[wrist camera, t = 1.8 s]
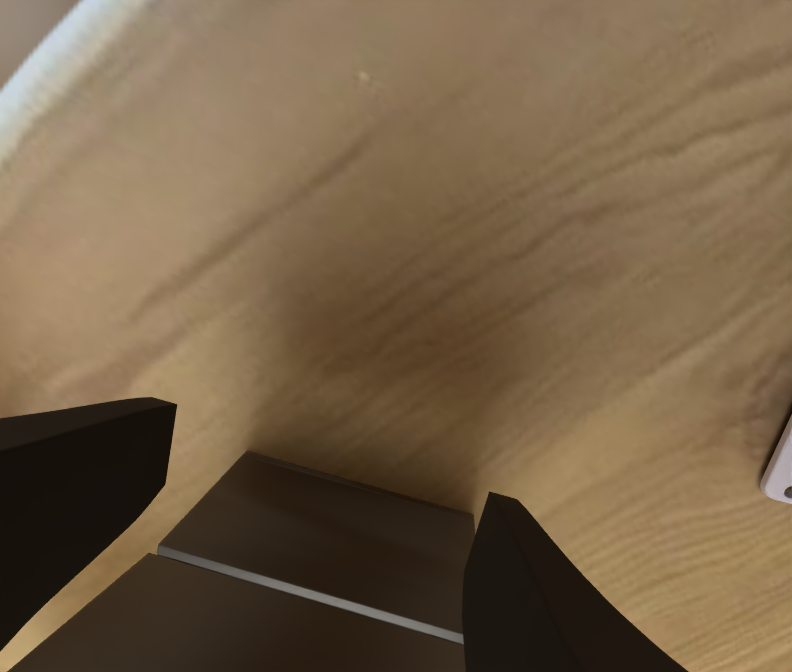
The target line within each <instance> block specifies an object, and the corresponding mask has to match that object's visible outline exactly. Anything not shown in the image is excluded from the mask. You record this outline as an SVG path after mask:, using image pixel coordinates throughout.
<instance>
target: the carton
mask: <svg viewBox="0 0 792 672" xmlns="http://www.w3.org/2000/svg"><path fill="white" fill-rule="evenodd" d="M474 538H475V523H474V515H472V514H468V513H464V512H461V511H457V510H454V509H450V508H447V507H443V506H439V505H436V504H432V503H429V502H425V501H422V500H418V499H414V498H411V497H407V496H404V495H400V494H397V493H393V492H389V491H386V490H382V489H379V488H375V487H372V486H368V485H364V484H361V483H357V482H354V481H350V480H347V479H343V478H339V477H336V476H332V475H329V474H325V473H322V472H318V471H314V470H311V469H307V468H304V467H300V466H297V465H293V464H289V463H286V462H282V461H279V460H275V459H272V458H268V457H264V456H261V455H257V454H254V453H250V452H245V453H244V454H243V455H242V456H241V457H240V458H239V459H238V460H237V461H236V463H235V464H234V465H233V466H232V467H231V468H230V469H229V470H228V471H227V472H226V473H225V474H224V475H223V476H222V477H221V478H220V480H219V481H218V482H217V483H216V484H215V485H214V486H213V487H212V488H211V489H210V490H209V491H208V492H207V493H206V494H205V495H204V497H203V498H202V499H201V500H200V501H199V502H198V503H197V504H196V505H195V506H194V507H193V508H192V509H191V510H190V511H189V512H188V514H187V515H186V516H185V517H184V518H183V519H182V520H181V521H180V522H179V523H178V524H177V525H176V526H175V527H174V528H173V530H172V531H171V532H170V533H169V534H168V535H167V536H166V537H165V538H164V539H163V540H162V541H161V542H160V543H159V545H158V552H157V555H158V556H162V557H165V558H168V559H172V560H175V561H179V562H182V563H185V564H189V565H192V566H196V567H199V568H202V569H206V570H209V571H213V572H216V573H219V574H223V575H226V576H229V577H233V578H236V579H240V580H243V581H246V582H250V583H253V584H257V585H260V586H263V587H267V588H270V589H273V590H277V591H280V592H284V593H287V594H290V595H294V596H297V597H301V598H304V599H307V600H311V601H314V602H318V603H321V604H324V605H328V606H331V607H334V608H338V609H341V610H345V611H348V612H351V613H355V614H358V615H362V616H365V617H368V618H372V619H375V620H379V621H382V622H385V623H389V624H392V625H395V626H399V627H402V628H406V629H409V630H412V631H416V632H419V633H423V634H426V635H429V636H433V637H436V638H440V639H443V640H446V641H450V642H453V643H456V644H460V645H463V646H464V642H463V628H462V596H463V578H464V569H465V566H466V563H467V560H468V557H469V553H470V550H471V547H472V544H473V541H474Z"/></svg>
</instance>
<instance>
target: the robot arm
mask: <svg viewBox="0 0 792 672" xmlns="http://www.w3.org/2000/svg"><path fill="white" fill-rule="evenodd" d="M176 409H177V404H174V403H171V402H167V401H164V400H160V399H156V398H153V397H145V398H133V399H125V400H118V401H111V402H105V403H99V404H93V405H87V406H81V407H75V408H69V409H63V410H57V411H50V412H43V413H36V414H29V415H22V416H15V417H7V418H0V651H1V650H2V649H3V648H4V647H5V646H6V645H7V644H8V643H9V641H10V640H11V639H12V638H13V637H14V636H15V635H16V634H17V633H18V632H19V630H20V629H21V628H22V627H23V626H24V625H25V624H26V623H27V622H28V621H29V620H30V619H31V618H32V617H33V616H34V615H35V614H36V613H37V612H38V611H39V610H40V609H41V608H42V607H43V606H44V605H45V604H46V603H47V602H48V601H49V600H50V599H51V598H52V597H53V596H55V595H56V594H57V593H58V592H59V591H60V590H61V589H62V588H63V587H64V586H65V585H67V584H68V583H69V582H70V581H71V580H72V579H73V578H74V577H75V576H76V575H77V574H79V573H80V572H81V571H82V570H83V569H84V568H85V567H86V566H87V565H88V564H89V563H91V562H92V561H93V560H94V559H95V558H96V557H97V556H98V555H99V554H100V553H101V552H103V551H104V550H105V549H106V548H107V547H108V546H109V545H110V544H111V543H112V542H113V541H114V540H115V539H116V538H118V537H119V536H120V535H121V534H122V533H123V532H124V531H125V530H126V529H127V528H128V527H129V526H130V525H131V524H132V523H133V522H134V521H135V520H136V519H137V518H138V517H139V516H140V515H141V514H142V512H143V511H144V510H145V509H146V508H147V507H148V505H149V504H150V503H151V502H152V501H153V499H154V498H155V497H156V495H157V494H158V493H159V492H160V490H161V489H162V488H163V487H164V485H165V483H166V476H167V470H168V463H169V456H170V449H171V443H172V436H173V429H174V422H175V416H176ZM790 486H792V415H791V417H790V419H789V421H788V423H787V426H786V428H785V430H784V432H783V434H782V436H781V439H780V441H779V443H778V445H777V447H776V450H775V452H774V454H773V456H772V458H771V460H770V463H769V465H768V467H767V469H766V471H765V473H764V476H763V478H762V480H761V483H760V488H761V490H762V491H763V493H764V494H766V495H767V496H768V497H770V498H772V499H775V500H778V501H782V502H786V503H789V504H792V489H791V490H790V491H789V492H787V493H784V492H785V490H786V488H788V487H790ZM462 628H463V642H464V656H465V668H466V672H688V671H687V670H686V669H684V668H683V667H682V666H681V665H679V664H678V663H677V662H676V661H674V660H673V659H672V658H671V657H669V656H668V655H667V654H666V653H665V652H663V651H662V650H661V649H660V648H659V647H658V646H656V645H655V644H654V643H653V642H652V641H651V640H649V639H648V638H647V637H646V636H645V635H644V634H643V633H642V632H641V631H639V630H638V629H637V628H636V627H635V626H634V625H633V624H632V623H631V622H630V621H628V620H627V619H626V618H625V617H624V616H623V615H622V614H621V613H620V612H619V611H618V610H617V609H616V608H615V607H614V606H612V605H611V604H610V603H609V602H608V601H607V600H606V599H605V598H604V597H603V595H602V594H601V593H600V592H599V591H598V590H597V589H596V588H595V587H594V586H593V585H592V584H591V583H590V582H589V581H588V580H587V579H586V578H585V577H584V576H583V575H582V573H581V572H580V571H579V570H578V569H577V568H576V567H575V566H574V565H573V564H572V562H571V561H570V560H569V559H568V558H567V557H566V556H565V554H564V553H563V552H562V551H561V550H560V549H559V547H558V546H557V545H556V544H555V543H554V542H553V540H552V539H551V538H550V537H549V536H548V534H547V533H546V532H545V531H544V530H543V528H542V527H541V526H540V525H539V523H538V522H537V521H536V520H535V519H534V517H533V516H532V515H531V514H530V513H529V512H528V510H527V509H526V508H525V507H524V506H523V505H522V504H521V503H520V502H519V501H518V500H517V499H514V498H511V497H507V496H504V495H500V494H497V493H493V492H489V494H488V497H487V500H486V504H485V507H484V510H483V513H482V516H481V519H480V522H479V525H478V529H477V532H476V535H475V538H474V541H473V544H472V547H471V550H470V553H469V557H468V560H467V563H466V566H465V569H464V578H463V596H462Z"/></svg>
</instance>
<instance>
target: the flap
mask: <svg viewBox="0 0 792 672" xmlns="http://www.w3.org/2000/svg"><path fill="white" fill-rule="evenodd" d="M7 672H466V668H465V656H464V646H463V645H460V644H456V643H453V642H450V641H446V640H443V639H440V638H436V637H433V636H429V635H426V634H423V633H419V632H416V631H412V630H409V629H406V628H402V627H399V626H395V625H392V624H389V623H385V622H382V621H379V620H375V619H372V618H368V617H365V616H362V615H358V614H355V613H351V612H348V611H345V610H341V609H338V608H334V607H331V606H328V605H324V604H321V603H318V602H314V601H311V600H307V599H304V598H301V597H297V596H294V595H290V594H287V593H284V592H280V591H277V590H273V589H270V588H267V587H263V586H260V585H257V584H253V583H250V582H246V581H243V580H240V579H236V578H233V577H229V576H226V575H223V574H219V573H216V572H213V571H209V570H206V569H202V568H199V567H196V566H192V565H189V564H185V563H182V562H179V561H175V560H172V559H168V558H165V557H162V556H158V555H155V554H152V553H148V554H147V555H146V556H144V557H143V558H142V559H141V560H140V561H138V562H137V563H136V564H135V565H134V566H132V567H131V568H130V569H129V570H128V571H126V572H125V573H124V574H123V575H122V576H121V577H119V578H118V579H117V580H116V581H115V582H113V583H112V584H111V585H110V586H109V587H107V588H106V589H105V590H104V591H103V592H101V593H100V594H99V595H98V596H97V597H96V598H94V599H93V600H92V601H91V602H90V603H88V604H87V605H86V606H85V607H84V608H82V609H81V610H80V611H79V612H78V613H76V614H75V615H74V616H73V617H72V618H71V619H69V620H68V621H67V622H66V623H65V624H63V625H62V626H61V627H60V628H59V629H57V630H56V631H55V632H54V633H53V634H52V635H50V636H49V637H48V638H47V639H46V640H44V641H43V642H42V643H41V644H40V645H38V646H37V647H36V648H35V649H34V650H32V651H31V652H30V653H29V654H28V655H27V656H25V657H24V658H23V659H22V660H21V661H19V662H18V663H17V664H16V665H15V666H13V667H12V668H11V669H10V670H9V671H7Z"/></svg>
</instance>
